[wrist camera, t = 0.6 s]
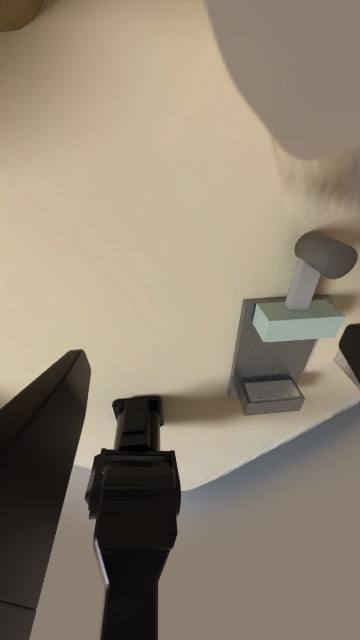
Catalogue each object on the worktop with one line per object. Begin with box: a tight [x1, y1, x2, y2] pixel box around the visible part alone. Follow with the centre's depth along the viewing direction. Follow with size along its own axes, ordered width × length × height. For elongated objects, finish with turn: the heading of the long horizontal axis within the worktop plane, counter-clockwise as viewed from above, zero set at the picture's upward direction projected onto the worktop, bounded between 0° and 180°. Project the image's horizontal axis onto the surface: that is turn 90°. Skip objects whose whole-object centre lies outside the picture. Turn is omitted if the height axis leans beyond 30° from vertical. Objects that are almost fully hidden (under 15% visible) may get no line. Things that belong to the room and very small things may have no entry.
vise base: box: [228, 295, 333, 415], centre depth 26 cm, size 15×9×4 cm, turn 1°
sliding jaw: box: [253, 231, 358, 342], centre depth 20 cm, size 9×7×4 cm
